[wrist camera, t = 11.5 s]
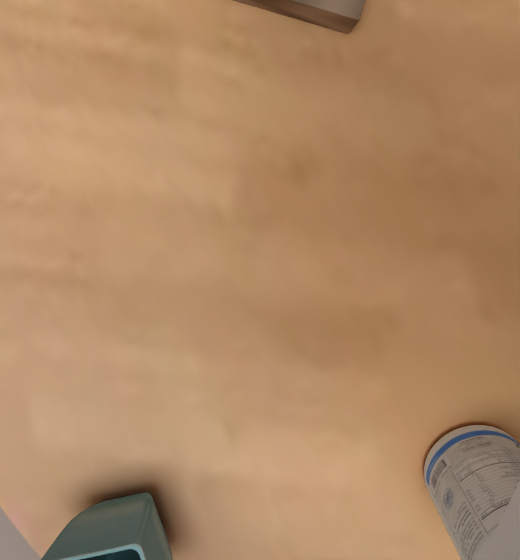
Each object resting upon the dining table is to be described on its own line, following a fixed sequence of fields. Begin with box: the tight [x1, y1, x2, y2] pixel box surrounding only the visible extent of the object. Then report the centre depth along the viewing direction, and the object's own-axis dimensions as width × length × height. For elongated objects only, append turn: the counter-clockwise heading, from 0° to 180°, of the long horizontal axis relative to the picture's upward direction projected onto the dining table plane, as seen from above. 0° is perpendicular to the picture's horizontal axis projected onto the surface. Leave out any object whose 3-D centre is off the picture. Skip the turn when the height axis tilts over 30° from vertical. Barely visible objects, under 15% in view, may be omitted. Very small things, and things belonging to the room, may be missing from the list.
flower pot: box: [41, 492, 173, 560], centre depth 43 cm, size 9×9×9 cm
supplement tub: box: [424, 425, 520, 560], centre depth 38 cm, size 10×10×15 cm
